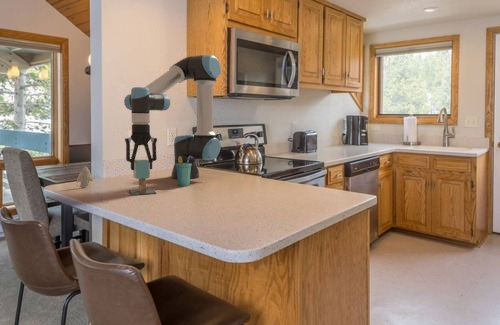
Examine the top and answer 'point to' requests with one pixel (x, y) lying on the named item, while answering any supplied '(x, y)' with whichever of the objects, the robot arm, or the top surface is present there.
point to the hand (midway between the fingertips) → (141, 177)
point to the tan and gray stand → (142, 189)
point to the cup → (183, 171)
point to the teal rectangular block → (142, 169)
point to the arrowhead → (84, 177)
